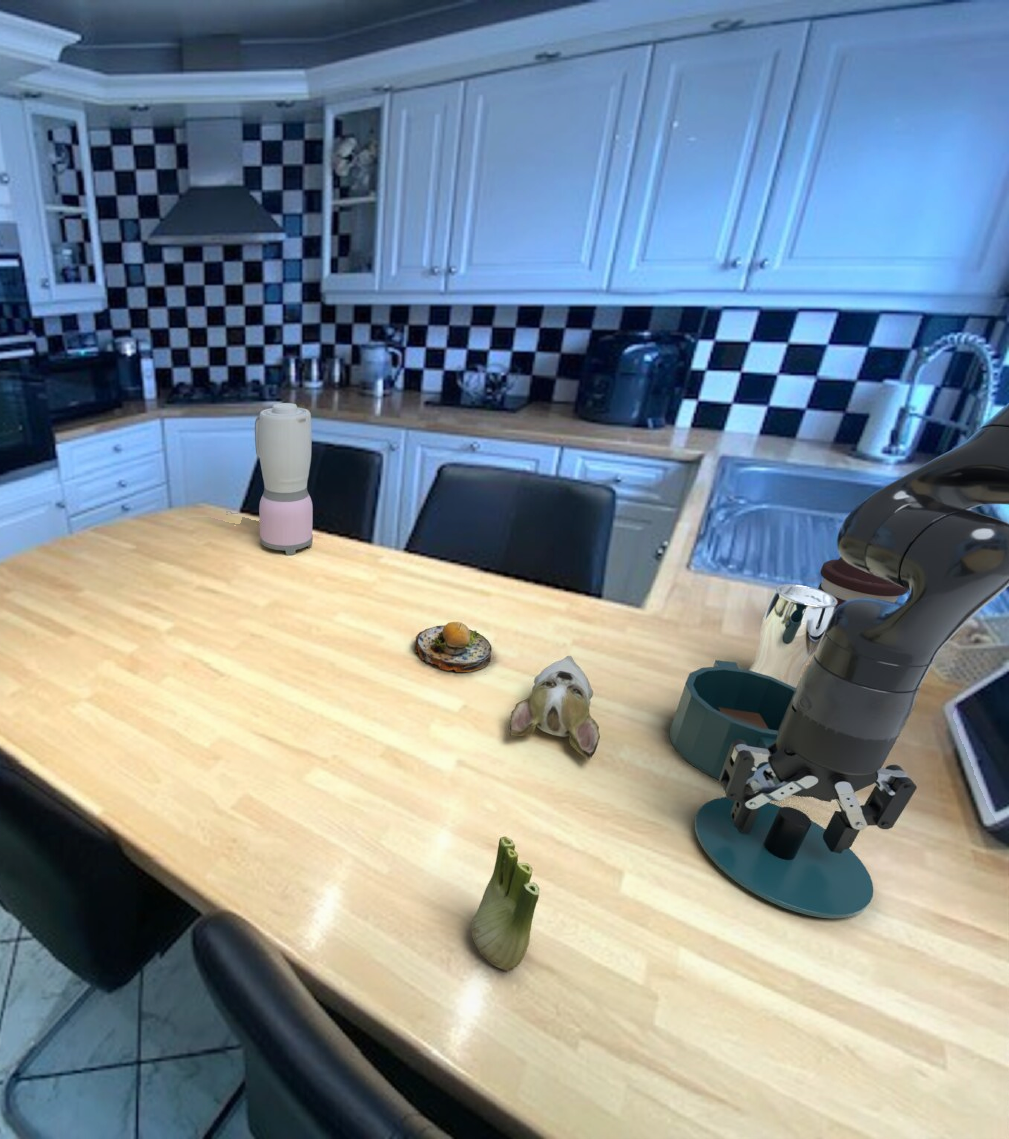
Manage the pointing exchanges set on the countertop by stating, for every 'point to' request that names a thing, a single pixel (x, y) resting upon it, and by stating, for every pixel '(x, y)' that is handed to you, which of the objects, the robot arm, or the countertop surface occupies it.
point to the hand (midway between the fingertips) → (784, 836)
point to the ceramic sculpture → (559, 707)
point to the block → (745, 717)
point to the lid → (785, 860)
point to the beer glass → (792, 631)
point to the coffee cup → (856, 583)
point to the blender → (285, 477)
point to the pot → (711, 732)
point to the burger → (453, 647)
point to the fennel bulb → (506, 910)
